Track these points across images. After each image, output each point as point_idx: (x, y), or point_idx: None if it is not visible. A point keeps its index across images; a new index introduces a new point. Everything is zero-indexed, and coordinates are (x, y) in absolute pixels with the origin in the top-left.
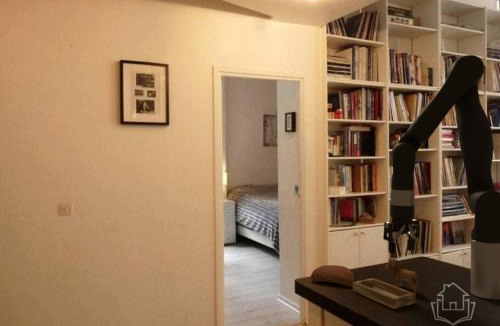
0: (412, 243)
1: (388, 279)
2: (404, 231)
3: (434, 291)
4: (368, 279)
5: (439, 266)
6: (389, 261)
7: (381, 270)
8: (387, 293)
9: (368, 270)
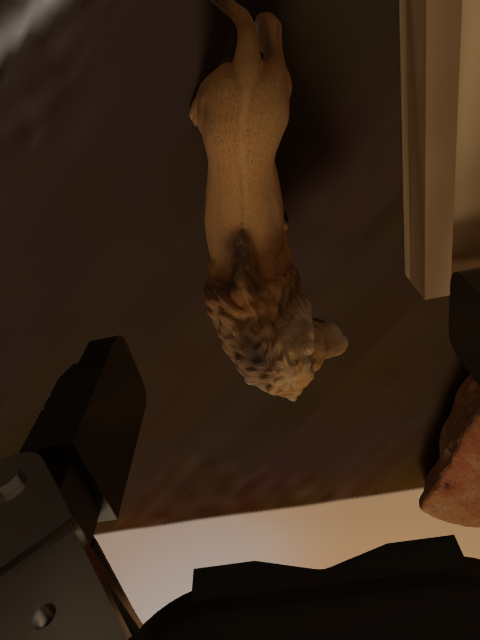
0: (90, 406)
1: None
2: (340, 638)
3: (59, 60)
4: None
5: None
6: (312, 366)
7: (178, 466)
8: (474, 79)
9: (245, 478)
